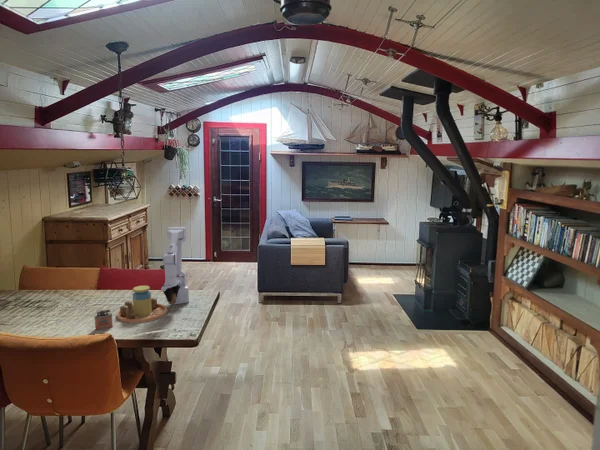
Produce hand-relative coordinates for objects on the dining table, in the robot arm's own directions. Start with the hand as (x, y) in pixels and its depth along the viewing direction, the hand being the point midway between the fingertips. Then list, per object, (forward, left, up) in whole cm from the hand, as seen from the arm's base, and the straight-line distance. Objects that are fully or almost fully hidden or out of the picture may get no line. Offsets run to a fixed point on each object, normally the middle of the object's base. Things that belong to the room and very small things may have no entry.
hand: (172, 300), depth 234 cm
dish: (+15, -5, -8) cm, 18 cm away
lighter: (+34, +8, -8) cm, 36 cm away
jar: (+15, -5, -8) cm, 17 cm away
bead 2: (0, 0, -1) cm, 1 cm away
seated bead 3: (+21, +1, -7) cm, 22 cm away
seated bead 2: (+21, -11, -7) cm, 25 cm away
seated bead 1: (+24, -5, -7) cm, 25 cm away
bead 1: (+9, -11, -7) cm, 16 cm away
